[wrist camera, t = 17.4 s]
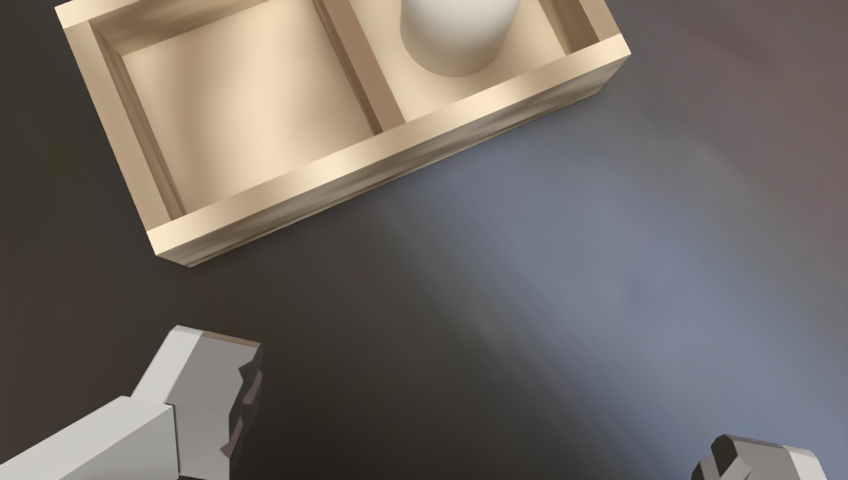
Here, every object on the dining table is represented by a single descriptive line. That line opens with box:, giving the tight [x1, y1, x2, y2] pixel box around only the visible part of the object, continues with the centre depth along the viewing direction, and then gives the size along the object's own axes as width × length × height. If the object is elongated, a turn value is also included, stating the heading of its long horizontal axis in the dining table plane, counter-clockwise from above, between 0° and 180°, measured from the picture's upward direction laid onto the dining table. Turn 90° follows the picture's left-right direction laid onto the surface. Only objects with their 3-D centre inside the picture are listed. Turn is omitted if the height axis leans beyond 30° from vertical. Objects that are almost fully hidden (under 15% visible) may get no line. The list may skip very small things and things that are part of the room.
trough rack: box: [55, 0, 631, 267], centre depth 29 cm, size 21×11×4 cm, turn 115°
